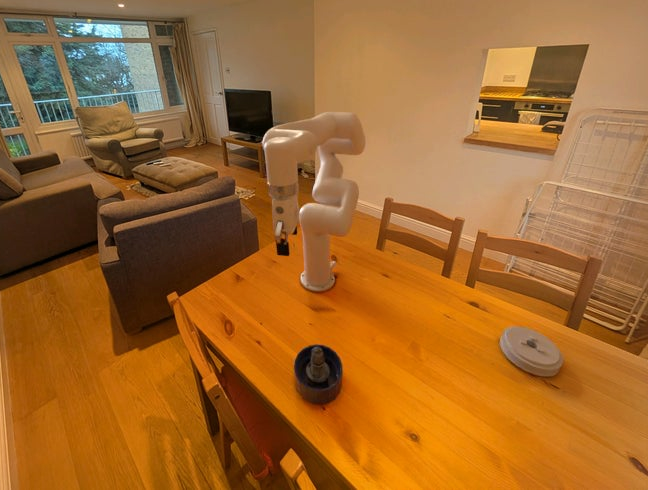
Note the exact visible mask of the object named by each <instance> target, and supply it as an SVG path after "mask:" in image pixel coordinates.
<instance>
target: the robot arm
mask: <svg viewBox="0 0 648 490" xmlns="http://www.w3.org/2000/svg"><path fill="white" fill-rule="evenodd" d="M366 144H367V143H366V134H365V132H364V128H363V125H362V122H361V120H360V118H359V117H358V115H357V114H356V113H354V112H352V111H351V112H350V111H349V112H348V111H347V112H346V111H345V112H343V111H325V112H322V113H320V114H318V115H316V116H314V117H311V118H307V119H301V120H297V121H291V122H287V123H282V124H277V125H275V126H273V127H271V128H269V129H268V130H267V131H266V132H265V134H264V135H263V139H262V149H263V151H264V158H265V160H264V161H265V169H266V180H267V189H268V195H269V197H271V210H272V211H271V213H272V227H273V231H274V241H275V245H276V247H275V248H276V255H277V256H281V257H282V256H283V257H290V244H289V241H288V238H289V235H290V236H292V235H293V236H297V235H298V223H299V225H300V228H301V233H302V234H301V235H302V246H303V248H302V251H303V270H304V271H302V273H301V274H300V284H301V285H302V286H303V287H304V288H305V289H306V290H308V291H311V292H317V293H319V292H325V291H328V290H329V289H331V288H333V286H334V284H335V275H334V273H333V272H332V270H333V268H335V267H336V266H337V265H338V263H337V261H335V260H333V261H332V262H331V237H330V236H333V237H339V238H345V237H347V235H349V233H350V231H351V228H352V225H353V220H354V216H355V213H356V209H357V206H358V200H359V195H360V189H359V188H360V187H359V184H358V183H357V182H356V181H354V180H351V179H347V178H342V177H343V174H344V166H343V165H342V163H341V161H340V160H339V158H338V157H337V156H336V155H345V156H359V155H362V154H363V152H364V151H365V148H366ZM317 150H318V156H319V161H320V166H319V170H318V173H317V176H316V178H315V182H314V184H313V188H312V191H311V196H312V199H313V200H314V201H315V202H308V203H305V204H303V206H301V208H299V207H300V205H299V197H298V194H299V191H300V189H299V175H298V164H300V163H303V162H306V161H309V160H310V159H311V158H313V157H314V155H315V154H316V152H317ZM284 230H285V231H284ZM282 235H284V238H283V237H282Z"/></svg>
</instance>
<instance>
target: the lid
mask: <svg viewBox="0 0 648 490" xmlns="http://www.w3.org/2000/svg"><path fill="white" fill-rule="evenodd" d="M499 346H500V349H501V351H502V353H503V354H504V355H505V357H506V358H507V359H508V361H510V362H512V364H514V365H515V366H517V367H518V368H519V369H520V370H523V371H525V372H527V373H529V374H532V375H535V376H540V377H546V378H547V377H553V376H555V375H557V374H558V373H559V372H560V369H561V367H562V365H563V363H564V357H563V354H562V351H560V349H559V347H558V346H557V345H556V344H555V342H553V341H552V340H551V339H549V338H548V337H547V336H545V335H544V334H542V333H540V332H538V331H536V330H534V329H531V328H529V327H524V326H519V325H514V326H513V325H512V326H508V327H506V328H504V329H503V331H502V333H501V336H500V339H499Z"/></svg>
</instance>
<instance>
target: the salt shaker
mask: <svg viewBox="0 0 648 490" xmlns="http://www.w3.org/2000/svg"><path fill="white" fill-rule="evenodd" d="M306 373H307V376H308V383H309V385H310V386H311V387H312V388H316V389H323V388H325V387H326V386H327V384H328V376H329V373H330V372H329V367H328V365H327V364H326V363H325V359H324V357H323V350H322V349H321V348H320V347H315V348H313V349H312V356H311V358H310V363H309V364H308V365H307V368H306Z"/></svg>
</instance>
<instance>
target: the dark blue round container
mask: <svg viewBox="0 0 648 490" xmlns="http://www.w3.org/2000/svg"><path fill="white" fill-rule="evenodd" d="M315 347H320V348H321V349H322V350H323V357H324V359H325V363H326V364H327V365H328V367H329V372H330V373H329V376H328V384H327V386H326V387H325V388H323V389H316V388H312V387H311V386H310V385H309V383H308V376H307V373H306V368H307V365H308V364H309V363H310V358H311V356H312V349H313V348H315ZM343 368H344V367H343V363H342V359H341V357H340V356H339V354H338V353H337V352H336V351H335V350H334V349H333V348H331V347H329V346H327V345H324V344H310V345H307V346H305V347H304V348H302V349H301V350H300V351H298V353H297V355H296V357H295V359H294V363H293V371H294V383H295V389H296V391H297V392H298V394H299V396H300V397H301V398H302V399H303V400H305V401H306V402H308V403H310V404H312V405H314V406H315V405H318V406H325V405H329V404H330V403H332V402H333V401H335V400H336V399H337V398H338V397H339V395H340V394H341V391H342V388H343V378H344V377H343V375H344V374H343V373H344V372H343V371H344V370H343Z"/></svg>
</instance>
